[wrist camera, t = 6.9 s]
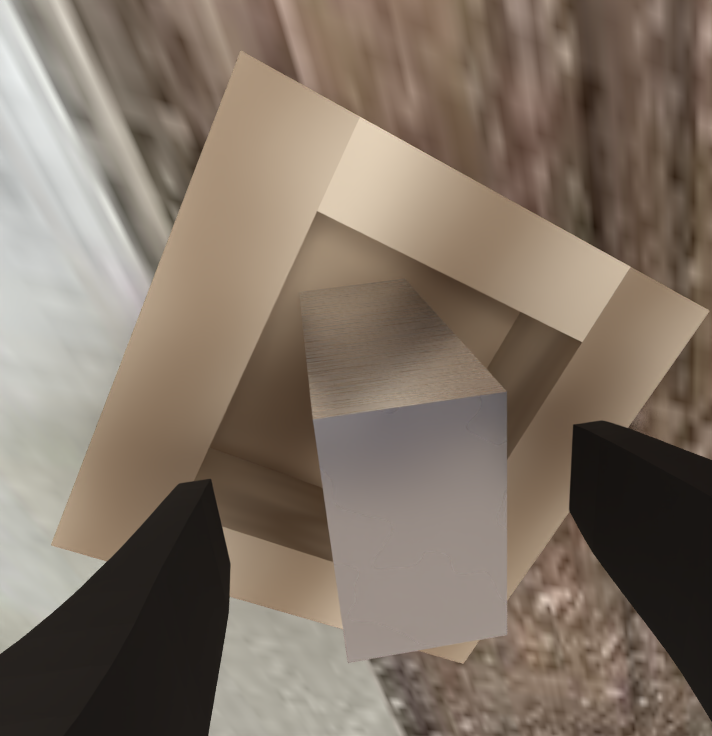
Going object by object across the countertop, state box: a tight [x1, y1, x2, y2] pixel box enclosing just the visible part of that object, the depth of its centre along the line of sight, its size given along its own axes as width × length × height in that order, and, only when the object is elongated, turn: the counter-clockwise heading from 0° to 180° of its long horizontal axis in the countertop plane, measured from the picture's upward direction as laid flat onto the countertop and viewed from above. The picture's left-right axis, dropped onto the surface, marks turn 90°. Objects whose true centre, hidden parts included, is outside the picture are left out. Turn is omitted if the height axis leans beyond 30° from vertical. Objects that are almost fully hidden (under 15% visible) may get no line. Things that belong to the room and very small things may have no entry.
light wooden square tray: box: [51, 51, 709, 663], centre depth 16 cm, size 12×12×4 cm
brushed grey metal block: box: [299, 279, 507, 663], centre depth 13 cm, size 3×5×8 cm, turn 5°
